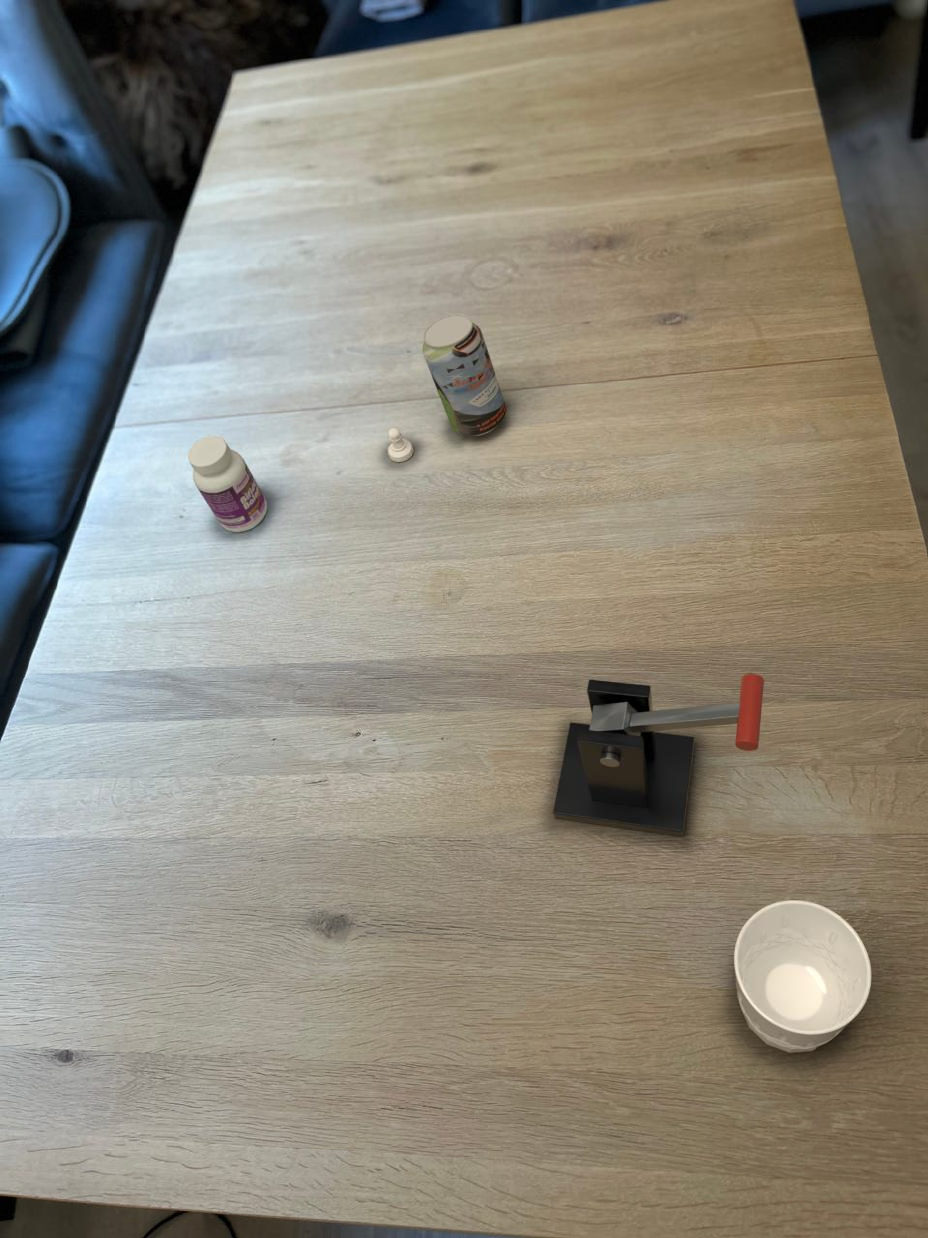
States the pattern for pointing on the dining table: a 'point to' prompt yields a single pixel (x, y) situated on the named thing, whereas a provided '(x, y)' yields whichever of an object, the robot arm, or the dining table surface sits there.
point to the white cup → (800, 974)
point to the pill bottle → (226, 484)
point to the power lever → (689, 716)
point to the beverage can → (464, 375)
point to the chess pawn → (399, 446)
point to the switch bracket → (625, 770)
